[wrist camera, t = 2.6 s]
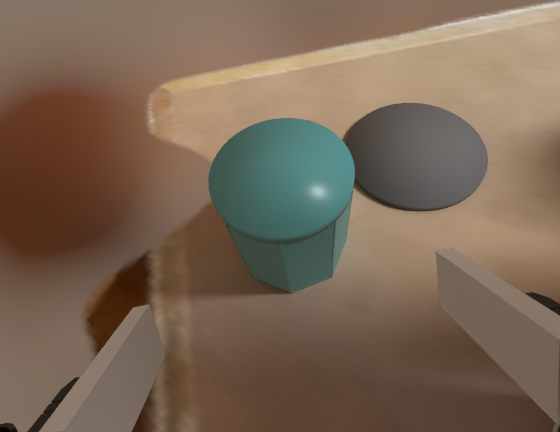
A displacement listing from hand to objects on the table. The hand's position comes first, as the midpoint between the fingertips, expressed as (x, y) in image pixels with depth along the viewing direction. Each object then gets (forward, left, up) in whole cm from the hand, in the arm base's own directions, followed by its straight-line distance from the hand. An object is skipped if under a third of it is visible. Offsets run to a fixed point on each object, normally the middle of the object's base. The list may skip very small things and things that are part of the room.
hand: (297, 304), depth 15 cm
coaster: (-22, -6, -14) cm, 27 cm away
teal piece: (-6, -8, -14) cm, 17 cm away
